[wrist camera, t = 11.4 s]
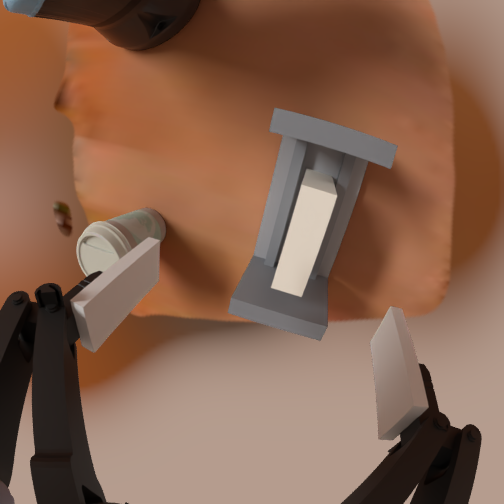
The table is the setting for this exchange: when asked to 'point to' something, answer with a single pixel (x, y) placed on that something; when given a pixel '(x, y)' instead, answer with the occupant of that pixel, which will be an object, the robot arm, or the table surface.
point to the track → (281, 211)
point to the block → (305, 232)
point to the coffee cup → (117, 238)
